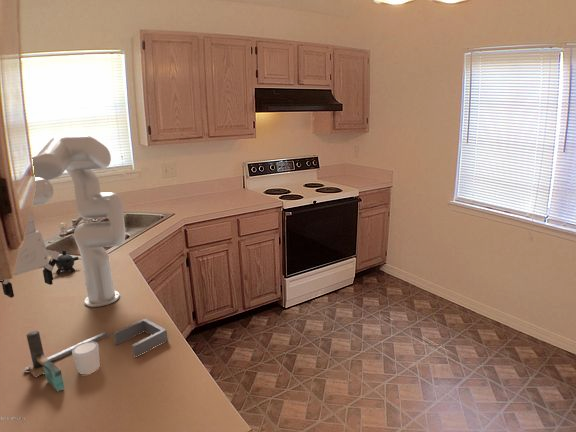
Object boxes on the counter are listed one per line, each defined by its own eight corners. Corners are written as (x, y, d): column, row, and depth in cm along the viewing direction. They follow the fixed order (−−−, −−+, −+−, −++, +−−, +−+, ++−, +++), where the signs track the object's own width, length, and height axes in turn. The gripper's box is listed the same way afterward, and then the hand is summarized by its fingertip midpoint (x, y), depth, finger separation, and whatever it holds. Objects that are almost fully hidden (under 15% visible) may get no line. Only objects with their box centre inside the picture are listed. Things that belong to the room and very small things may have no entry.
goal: (114, 344, 126) (112, 332, 125) (146, 328, 134) (144, 318, 133) (135, 358, 119) (134, 346, 117) (167, 341, 127) (166, 329, 126)
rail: (24, 371, 114) (23, 368, 113) (105, 334, 132) (105, 331, 131) (26, 373, 113) (25, 370, 113) (107, 336, 131) (107, 332, 130)
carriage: (29, 371, 113) (20, 334, 110) (46, 364, 116) (38, 327, 113) (52, 395, 103) (43, 354, 100) (70, 385, 107) (62, 346, 104)
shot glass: (73, 379, 110) (68, 357, 108) (78, 364, 116) (74, 343, 115) (100, 374, 112) (96, 352, 110) (104, 359, 118) (100, 339, 116)
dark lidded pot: (43, 272, 179) (50, 256, 189) (66, 283, 184) (71, 267, 194) (57, 256, 176) (64, 242, 187) (79, 268, 182) (85, 253, 192)
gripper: (-15, 239, 95) (-1, 305, 99) (59, 223, 109) (69, 281, 113) (-27, 235, 100) (-13, 298, 103) (46, 220, 113) (56, 276, 117)
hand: (30, 289), depth 108 cm, fingers open, 9 cm apart
